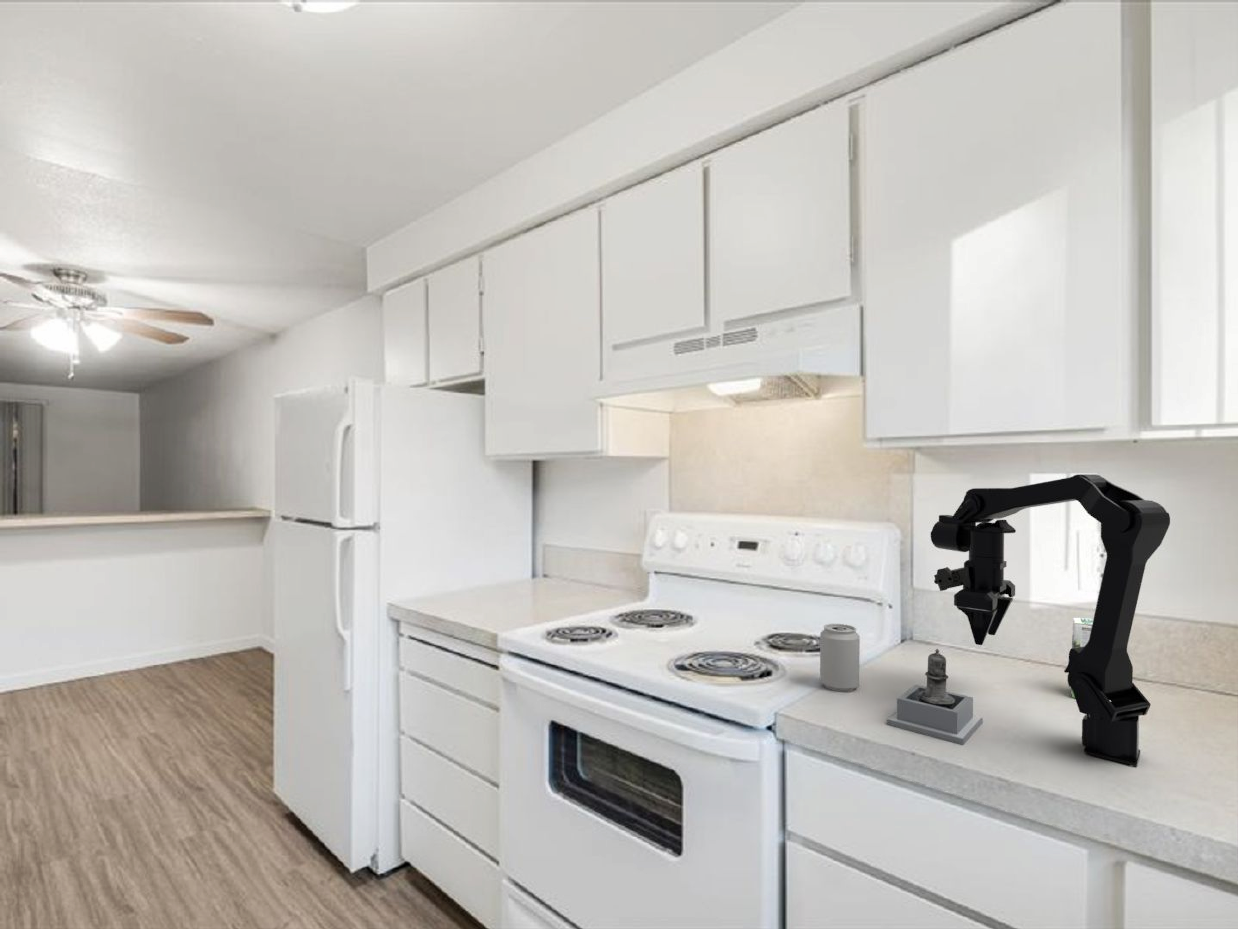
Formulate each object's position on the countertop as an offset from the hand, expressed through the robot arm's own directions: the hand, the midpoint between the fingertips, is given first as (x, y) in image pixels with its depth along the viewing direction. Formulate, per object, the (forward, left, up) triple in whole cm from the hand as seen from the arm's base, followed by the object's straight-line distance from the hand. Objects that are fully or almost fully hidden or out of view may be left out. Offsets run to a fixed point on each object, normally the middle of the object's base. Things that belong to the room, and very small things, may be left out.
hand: (985, 639), depth 123 cm
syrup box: (-14, -18, -12) cm, 26 cm away
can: (+24, +9, -12) cm, 28 cm away
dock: (+4, +16, -12) cm, 20 cm away
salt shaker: (+4, +16, -11) cm, 20 cm away
